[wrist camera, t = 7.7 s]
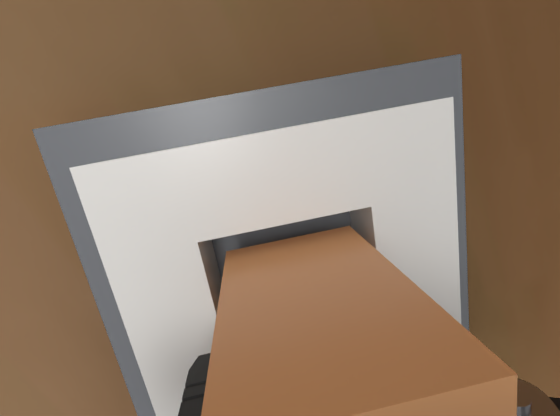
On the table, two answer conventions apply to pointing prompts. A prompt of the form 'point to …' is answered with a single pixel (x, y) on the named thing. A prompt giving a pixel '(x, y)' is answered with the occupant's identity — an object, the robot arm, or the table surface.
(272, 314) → the cardboard parcel
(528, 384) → the robot arm
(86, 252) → the socket plate
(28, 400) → the table surface
